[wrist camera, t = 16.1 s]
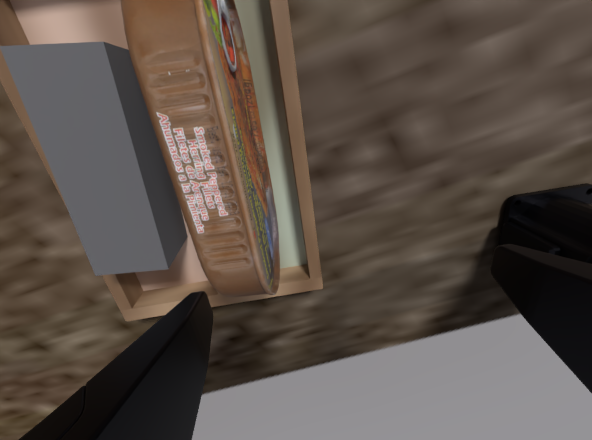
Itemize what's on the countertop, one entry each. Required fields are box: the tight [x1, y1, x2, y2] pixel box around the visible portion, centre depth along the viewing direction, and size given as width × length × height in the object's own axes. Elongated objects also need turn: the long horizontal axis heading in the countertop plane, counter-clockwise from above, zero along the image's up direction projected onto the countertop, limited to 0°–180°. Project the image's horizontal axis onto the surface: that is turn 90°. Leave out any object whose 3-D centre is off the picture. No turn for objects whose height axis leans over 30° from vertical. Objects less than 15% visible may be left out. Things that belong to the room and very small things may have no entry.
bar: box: [0, 42, 188, 276], centre depth 15 cm, size 11×4×4 cm, turn 3°
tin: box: [121, 0, 280, 297], centre depth 13 cm, size 15×3×8 cm, turn 8°
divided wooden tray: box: [0, 0, 323, 321], centre depth 16 cm, size 14×21×2 cm
